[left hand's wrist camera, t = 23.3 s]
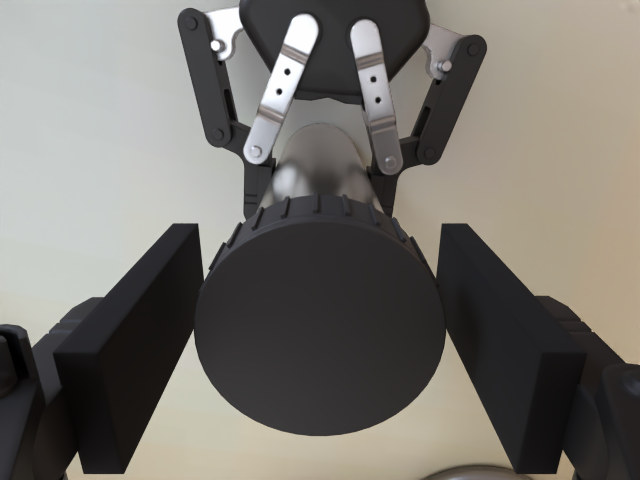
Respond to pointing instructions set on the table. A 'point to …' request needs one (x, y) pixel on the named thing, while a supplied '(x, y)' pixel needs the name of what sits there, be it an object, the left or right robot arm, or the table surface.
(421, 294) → the lid
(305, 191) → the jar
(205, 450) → the table surface
